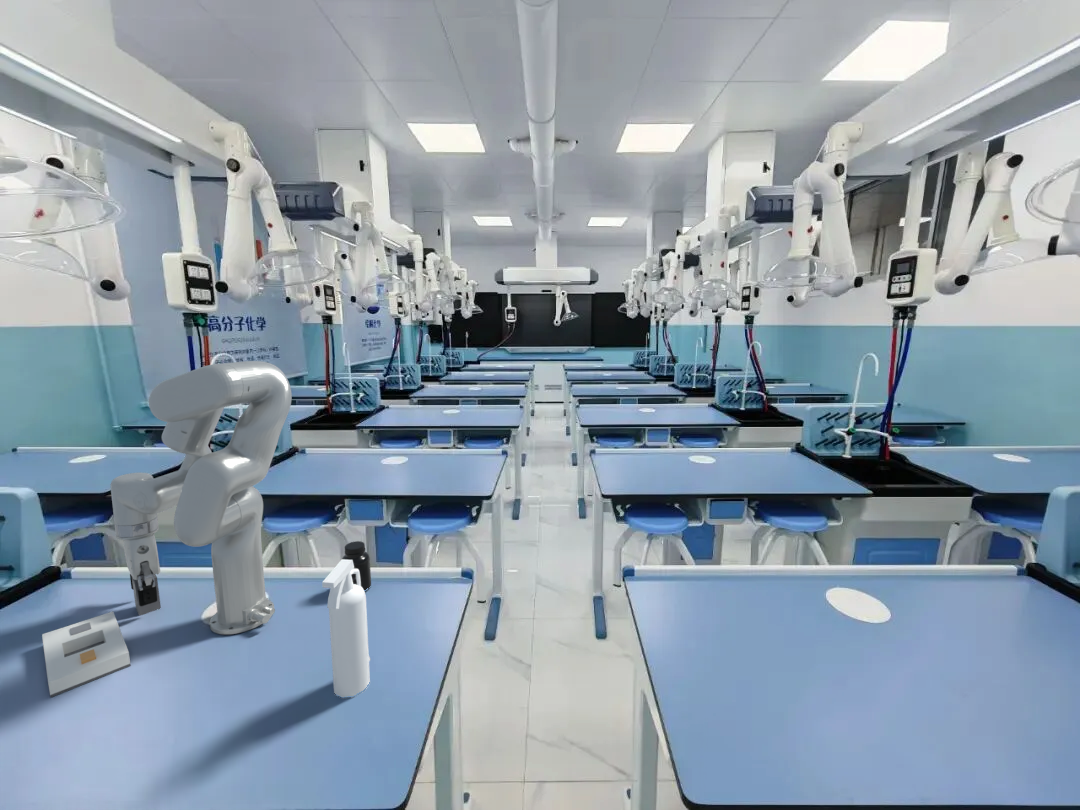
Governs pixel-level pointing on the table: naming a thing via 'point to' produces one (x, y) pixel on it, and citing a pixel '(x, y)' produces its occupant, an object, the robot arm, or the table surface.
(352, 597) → the white spray bottle
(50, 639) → the switch panel
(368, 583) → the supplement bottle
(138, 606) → the block
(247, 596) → the robot arm
